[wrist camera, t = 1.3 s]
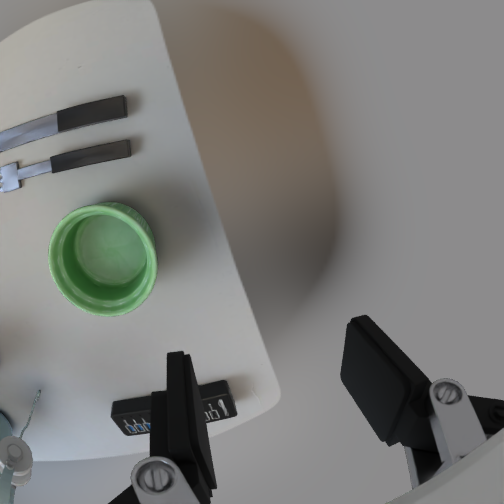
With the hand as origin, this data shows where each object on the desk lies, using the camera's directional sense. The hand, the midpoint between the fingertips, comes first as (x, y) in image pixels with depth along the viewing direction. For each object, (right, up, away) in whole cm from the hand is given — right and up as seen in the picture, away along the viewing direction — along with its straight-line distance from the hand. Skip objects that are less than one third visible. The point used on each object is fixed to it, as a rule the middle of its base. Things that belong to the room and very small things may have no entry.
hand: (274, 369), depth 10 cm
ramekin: (-13, +5, +15) cm, 20 cm away
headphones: (-27, -13, +18) cm, 35 cm away
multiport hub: (-10, -14, +22) cm, 28 cm away
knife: (-18, +15, +10) cm, 25 cm away
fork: (-17, +12, +11) cm, 24 cm away
